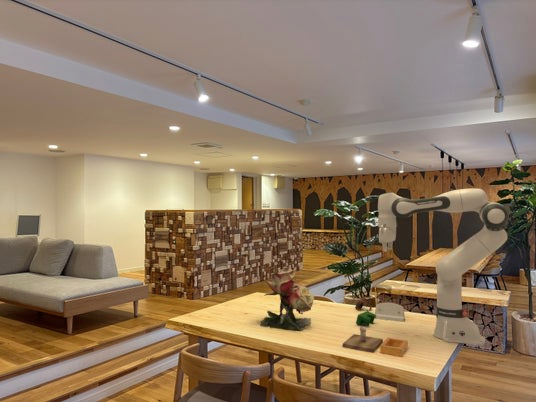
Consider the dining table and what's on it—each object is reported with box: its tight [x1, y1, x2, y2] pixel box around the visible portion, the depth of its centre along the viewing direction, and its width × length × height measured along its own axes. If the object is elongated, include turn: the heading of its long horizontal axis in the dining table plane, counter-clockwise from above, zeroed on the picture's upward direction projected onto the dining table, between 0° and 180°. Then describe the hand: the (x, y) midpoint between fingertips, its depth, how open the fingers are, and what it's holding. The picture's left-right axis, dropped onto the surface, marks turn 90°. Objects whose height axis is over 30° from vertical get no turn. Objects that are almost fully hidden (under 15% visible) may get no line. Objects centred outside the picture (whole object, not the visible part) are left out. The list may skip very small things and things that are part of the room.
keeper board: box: [342, 325, 384, 354], centre depth 181 cm, size 14×16×8 cm
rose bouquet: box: [259, 267, 315, 331], centre depth 216 cm, size 26×29×30 cm
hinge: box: [374, 302, 406, 323], centre depth 225 cm, size 17×5×10 cm, turn 66°
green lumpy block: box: [355, 310, 376, 327], centre depth 214 cm, size 12×6×9 cm, turn 133°
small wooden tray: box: [379, 337, 409, 357], centre depth 174 cm, size 9×13×3 cm
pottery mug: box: [354, 296, 373, 311], centre depth 245 cm, size 12×10×8 cm
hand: (387, 250), depth 203 cm, fingers open, 8 cm apart
